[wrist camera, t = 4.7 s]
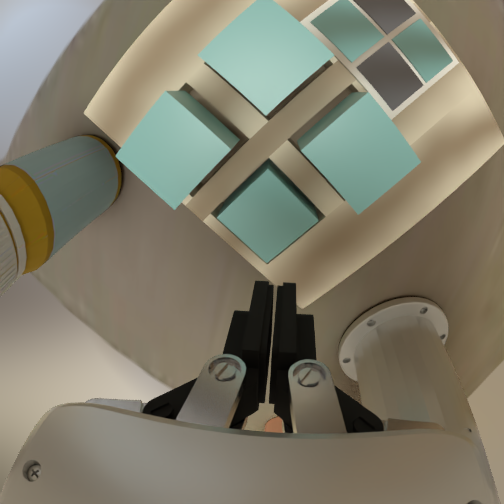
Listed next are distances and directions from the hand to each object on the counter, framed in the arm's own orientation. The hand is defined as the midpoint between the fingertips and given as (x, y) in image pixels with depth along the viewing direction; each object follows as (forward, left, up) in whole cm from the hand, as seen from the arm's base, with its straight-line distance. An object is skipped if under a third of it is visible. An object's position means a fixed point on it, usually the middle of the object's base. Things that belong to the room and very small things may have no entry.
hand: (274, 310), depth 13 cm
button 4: (+8, 0, -9) cm, 12 cm away
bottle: (+13, +9, -13) cm, 20 cm away
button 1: (+1, -7, -9) cm, 11 cm away
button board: (+4, -7, -12) cm, 15 cm away
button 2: (+1, 0, -11) cm, 12 cm away
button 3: (+8, -7, -9) cm, 14 cm away
